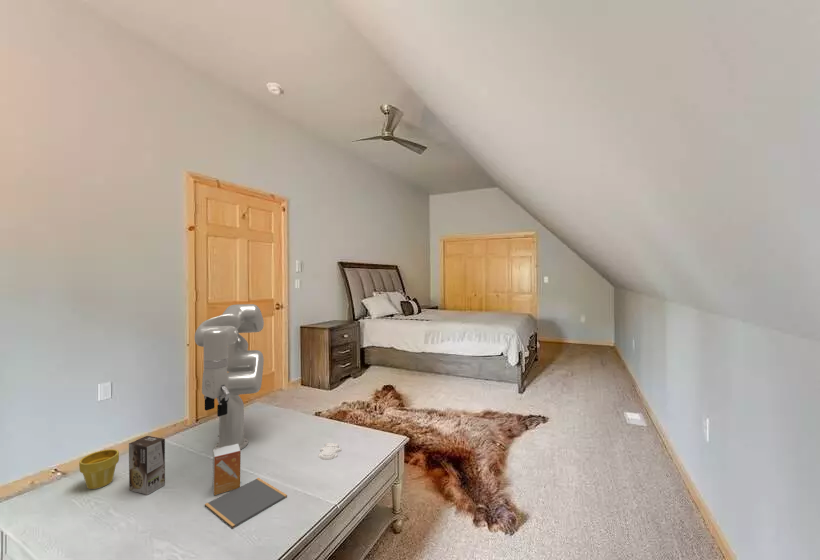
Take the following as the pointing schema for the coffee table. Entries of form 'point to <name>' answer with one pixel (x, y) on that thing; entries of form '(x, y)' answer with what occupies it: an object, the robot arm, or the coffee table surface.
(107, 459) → the plant pot
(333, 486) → the coffee table surface
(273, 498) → the mat
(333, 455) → the astronaut figurine
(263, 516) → the coffee table surface
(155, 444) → the coffee box
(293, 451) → the coffee table surface
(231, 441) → the robot arm
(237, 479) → the small box
